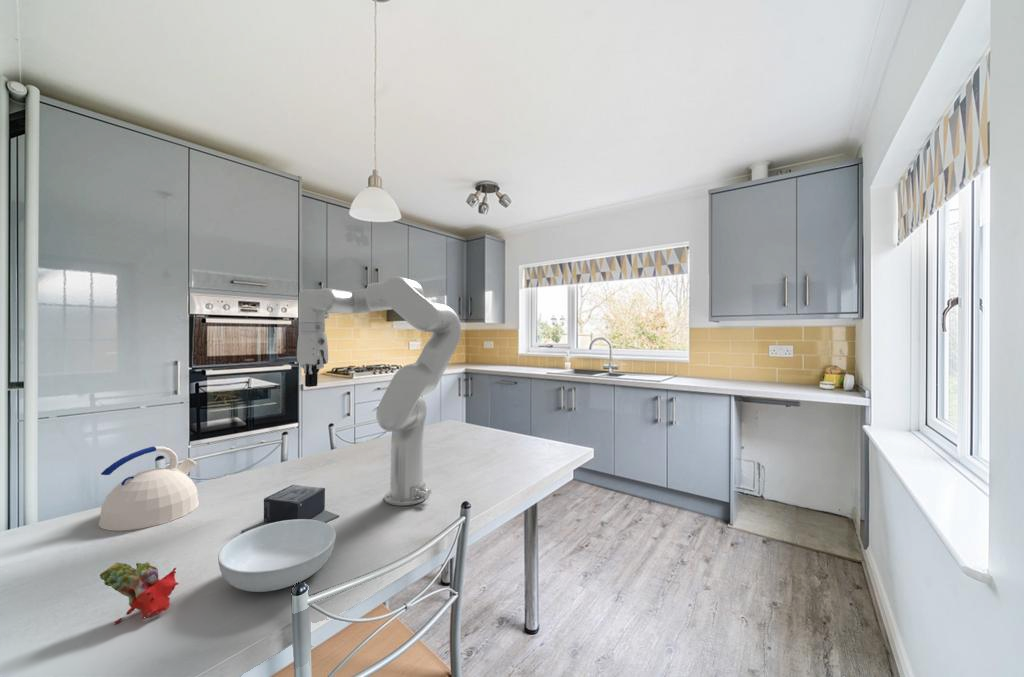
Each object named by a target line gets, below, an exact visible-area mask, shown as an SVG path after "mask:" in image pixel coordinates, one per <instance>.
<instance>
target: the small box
mask: <svg viewBox="0 0 1024 677" xmlns="http://www.w3.org/2000/svg"><path fill="white" fill-rule="evenodd" d="M325 507H326V488H325V487H317V486H316V487H315V486H307V485H306V486H305V485H298V484H291V485H289V486H287V487H285V488H283V489H281V490H279V491H277V492H275V493H273V494H270V495H269V496H266V497H264V498H263V522H271V523H275V522H280V521H286V520H296V519H310V518H312V517H313V516H315V515H316V514H318V513H320V512H321V511H323V510H326V508H325Z"/></svg>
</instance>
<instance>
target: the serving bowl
mask: <svg viewBox="0 0 1024 677" xmlns="http://www.w3.org/2000/svg"><path fill="white" fill-rule="evenodd" d="M336 535H337V533H336V530H335V528H334V527H333V526H332V525H330V524H329V523H328V522H326V523H325V522H321V521H317V520H309V519H296V520H286V521H280V522H275V523H270V524H267V525H263V526H260V527H257V528H254V529H252V530H249V531H247V532H245V533H242V532H241V534H239V535H237V536H236V537H234V538H232V539H231V540H230V541H228V542H227V543H226V544H225V545H224V546H223V547H222V548H221V549H220V551H219V553H218V555H217V559H218V560H217V561H218V567H219V571H220V573H221V575H222V577H223V579H224V580H225V581H226V583H228V584H230V585H231V586H232V587H234V588H236V589H239V590H242V591H245V592H246V591H247V592H253V593H254V592H255V593H257V592H258V593H263V592H264V593H265V592H273V591H277V590H282V589H285V588H288V587H292V586H294V585H297V584H298V582H299V583H301V582H303V581H305V580H307V579H308V578H310V577H311V576H313V575H314V574H315V573H317V571H319V570H320V569H321V568H322V567H323V566H324V565H325V564H326V563H327V561H328V560H329V558H330V557H331V555H332V552H333V550H334V546H335V542H336V537H337V536H336ZM296 583H297V584H296Z"/></svg>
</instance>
